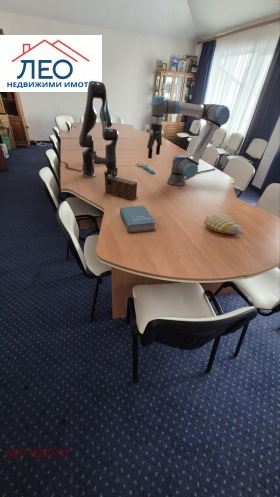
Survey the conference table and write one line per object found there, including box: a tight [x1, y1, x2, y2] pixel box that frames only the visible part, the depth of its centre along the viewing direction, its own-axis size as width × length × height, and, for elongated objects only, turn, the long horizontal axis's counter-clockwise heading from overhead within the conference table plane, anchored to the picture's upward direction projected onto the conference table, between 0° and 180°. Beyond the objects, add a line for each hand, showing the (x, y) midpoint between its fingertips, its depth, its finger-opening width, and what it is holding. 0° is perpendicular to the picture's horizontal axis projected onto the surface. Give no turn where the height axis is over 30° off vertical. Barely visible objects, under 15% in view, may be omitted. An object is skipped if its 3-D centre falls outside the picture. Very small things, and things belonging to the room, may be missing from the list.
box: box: [104, 176, 138, 201], centre depth 165 cm, size 24×6×12 cm, turn 62°
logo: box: [137, 162, 156, 175], centre depth 227 cm, size 34×10×1 cm, turn 16°
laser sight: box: [93, 150, 106, 165], centre depth 230 cm, size 10×22×10 cm, turn 78°
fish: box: [203, 213, 245, 235], centre depth 133 cm, size 25×8×20 cm
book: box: [119, 205, 156, 233], centre depth 136 cm, size 23×16×5 cm
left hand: (111, 183), depth 167 cm, fingers closed on box, 6 cm apart
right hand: (153, 156), depth 163 cm, fingers open, 13 cm apart
